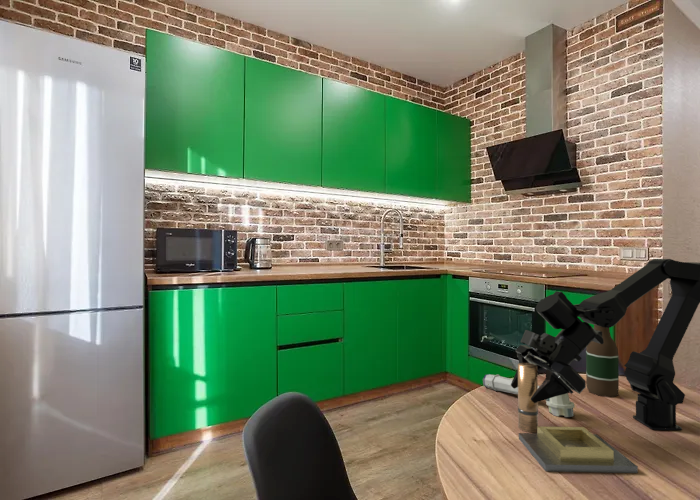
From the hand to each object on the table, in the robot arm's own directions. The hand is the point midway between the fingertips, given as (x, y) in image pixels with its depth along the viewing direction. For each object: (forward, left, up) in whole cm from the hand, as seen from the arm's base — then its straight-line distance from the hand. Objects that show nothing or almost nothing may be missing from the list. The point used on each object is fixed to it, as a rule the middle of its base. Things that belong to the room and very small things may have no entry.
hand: (521, 393), depth 85 cm
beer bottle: (-31, -23, -8) cm, 40 cm away
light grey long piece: (-7, -16, -8) cm, 20 cm away
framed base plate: (-5, +11, -8) cm, 14 cm away
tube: (-1, 0, -8) cm, 8 cm away
